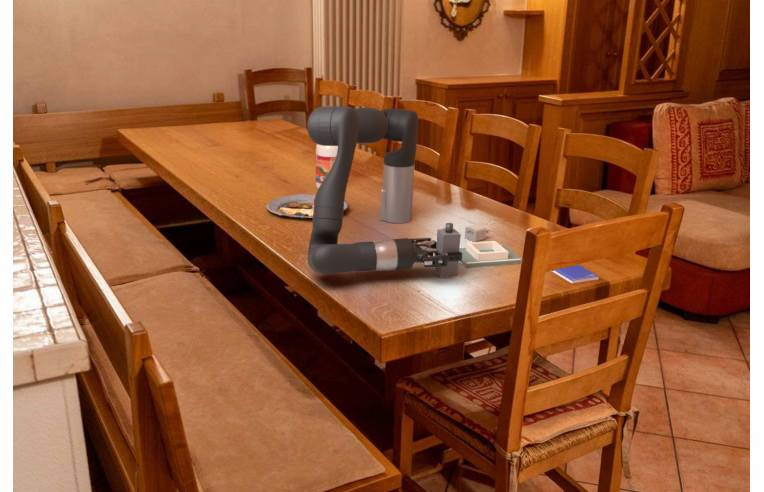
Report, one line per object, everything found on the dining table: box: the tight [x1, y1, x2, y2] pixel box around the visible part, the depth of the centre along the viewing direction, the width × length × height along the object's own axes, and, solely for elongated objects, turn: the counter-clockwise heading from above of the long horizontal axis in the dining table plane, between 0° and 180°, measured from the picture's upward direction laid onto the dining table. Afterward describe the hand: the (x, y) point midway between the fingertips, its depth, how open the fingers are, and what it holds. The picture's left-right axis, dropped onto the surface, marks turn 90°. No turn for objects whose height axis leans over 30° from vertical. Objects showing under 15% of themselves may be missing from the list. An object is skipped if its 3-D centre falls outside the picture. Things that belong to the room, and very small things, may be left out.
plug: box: [434, 222, 462, 278], centre depth 169 cm, size 5×4×13 cm
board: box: [459, 240, 523, 269], centre depth 182 cm, size 16×11×3 cm
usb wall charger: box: [464, 223, 490, 242], centre depth 196 cm, size 4×7×4 cm, turn 130°
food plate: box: [266, 193, 350, 219], centre depth 215 cm, size 25×23×4 cm
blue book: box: [551, 264, 600, 284], centre depth 175 cm, size 2×8×12 cm
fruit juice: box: [315, 105, 338, 190], centre depth 235 cm, size 9×9×28 cm
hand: (455, 250), depth 170 cm, fingers open, 7 cm apart
